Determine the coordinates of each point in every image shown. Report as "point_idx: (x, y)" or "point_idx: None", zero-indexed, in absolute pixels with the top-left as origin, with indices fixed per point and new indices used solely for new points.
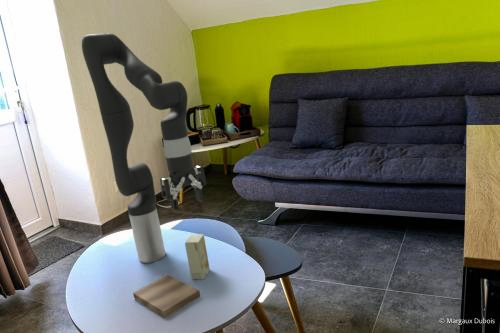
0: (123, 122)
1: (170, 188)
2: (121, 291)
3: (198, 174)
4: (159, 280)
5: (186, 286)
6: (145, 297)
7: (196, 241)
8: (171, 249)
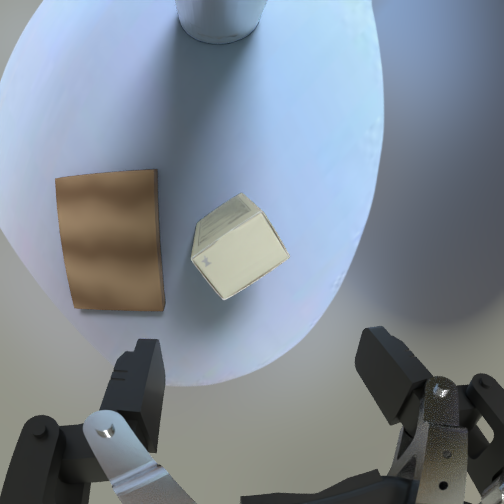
0: None
1: (120, 496)
2: (62, 116)
3: (501, 465)
4: (121, 181)
5: (151, 272)
6: (64, 227)
7: (225, 291)
8: (281, 26)
